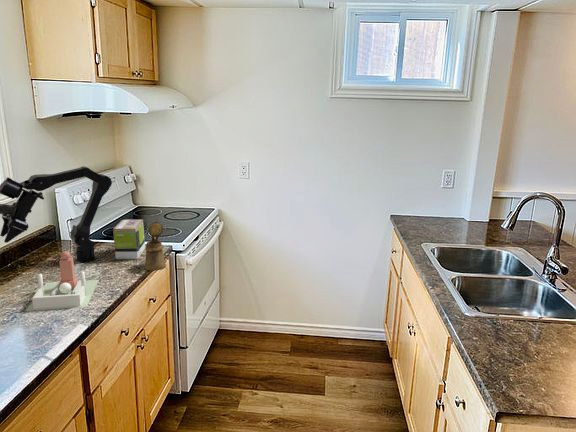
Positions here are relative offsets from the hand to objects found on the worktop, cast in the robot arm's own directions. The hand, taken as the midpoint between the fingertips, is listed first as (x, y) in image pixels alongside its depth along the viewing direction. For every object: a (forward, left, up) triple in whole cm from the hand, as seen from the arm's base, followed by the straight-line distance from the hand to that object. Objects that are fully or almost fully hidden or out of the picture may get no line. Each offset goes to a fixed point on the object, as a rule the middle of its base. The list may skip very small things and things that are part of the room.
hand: (3, 239), depth 171 cm
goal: (+4, +39, -15) cm, 42 cm away
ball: (-1, +34, -13) cm, 37 cm away
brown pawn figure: (-40, +40, -15) cm, 59 cm away
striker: (-5, +31, -15) cm, 35 cm away
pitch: (0, +35, -15) cm, 38 cm away
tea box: (-44, +20, -15) cm, 51 cm away
